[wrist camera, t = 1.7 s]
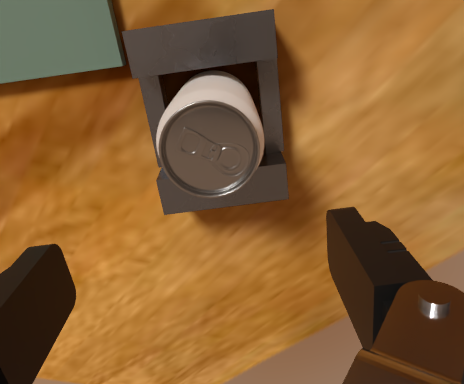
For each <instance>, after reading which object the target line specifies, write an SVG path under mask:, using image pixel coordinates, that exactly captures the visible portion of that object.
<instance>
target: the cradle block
mask: <svg viewBox="0 0 464 384" xmlns="http://www.w3.org/2000/svg"><path fill="white" fill-rule="evenodd" d="M122 35H123V39H124V43H125V48H126V52H127V56H128V61H129V65H130V69H131V73H132V78H133V79H134V78H139V82H140V86H141V91H142V95H143V100H144V104H145V109H146V113H147V117H148V122H149V126H150V131H151V135H152V140H153V144H154V149H155V153H156V157H157V162H158V166H159V167H162V165H161V162H160V158H159V155H158V152H157V145H156V135H157V129H158V125H159V122H160V119H161V117H162V115H163V113H164V112H165V110H166V108H167V107H168V106H169V105H168V100H167V95H166V90H165V85H164V80H163V75H162V74H169V73H176V72H183V71H190V70H197V69H204V68H211V67H218V66H225V65H232V64H239V63H246V62H253V61H255V64H256V74H257V84H258V93H259V103H260V113H261V123H262V127H263V132H264V151H263V156H262V159H261V161H260V164H259V166H258V168H257V169H256V171H255V172H254V174H253V176H252V177H251V179H250V180H249V181H248V182H247V183H246V184H245V185H244V186H243V187H242V188H240V189H239V190H237V191H236V192H234V193H232V194H229V195H226V196H223V197H218V198H203V197H198V196H194V195H191V194H189V193H187V192H185V191H183V190H181V189H180V188H179V187H177V186H176V185H175V184H174V183H173V182H172V181H171V180H170V179H169V177H168V176H167V175H166V173H165V171H164V169H163V167H162V169H161V171H160V173H159V175H158V178H157V180H156V181H157V186H158V190H159V194H160V199H161V203H162V207H163V212H164V215H167V214H175V213H183V212H190V211H198V210H206V209H214V208H222V207H230V206H238V205H245V204H253V203H261V202H269V201H277V200H285V199H289V195H288V183H287V170H286V162H285V160H284V158H283V156H282V154H281V151H284V143H283V130H282V118H281V105H280V93H279V80H278V68H277V58H278V57H277V44H276V31H275V19H274V9H272V10H265V11H258V12H251V13H244V14H238V15H231V16H224V17H217V18H210V19H204V20H197V21H190V22H183V23H176V24H169V25H163V26H156V27H149V28H142V29H135V30H129V31H122Z"/></svg>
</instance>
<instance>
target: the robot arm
mask: <svg viewBox="0 0 464 384" xmlns="http://www.w3.org/2000/svg"><path fill="white" fill-rule="evenodd" d="M326 221H327V251H328V263H329V268H330V272H331V276H332V278H333V280H334V283H335V285H336V287H337V290H338V292H339V294H340V296H341V299H342V301H343V303H344V306H345V308H346V310H347V312H348V315H349V317H350V319H351V321H352V324H353V326H354V328H355V331H356V333H357V335H358V338H359V340H360V342H361V344H362V347H363V348H362V349H361V350H360V351H359V352H358V354H357V355H356V357H355V359H354V362H353V363H352V365H351V367H350V369H349V371H348V374H347V375H346V377H345V379H344V382H343V384H464V293H463V292H462V291H460V290H459V289H457V288H455V287H453V286H451V285H448V284H445V283H442V282H437V281H433V280H432V279H431V278H430V277H429V276H428V274H427V273H426V272H425V270H424V269H423V268H422V267H421V266H420V264H419V263H418V262H417V261H416V260H415V258H414V257H413V256H412V255H411V254H410V252H409V251H407V250H406V248H405V246H404V245H403V244H402V243H401V242H399V239H398V238H397V237H396V236H395V234H394V233H393V232H392V231H391V230H390V229H389V228H387V227H385V226H383V225H381V224H380V223H378V222H376V221H372V222H365V221H364V219H363V218H362V217H361V215H360V214H359V213H358V211H357V210H356V209H355V207H348V208H340V209H332V210H328V211H327V216H326ZM75 301H76V289H75V285H74V283H73V280H72V277H71V274H70V272H69V269H68V266H67V264H66V261H65V258H64V255H63V253H62V250H61V248H60V247H59V246H58V245H56V244H49V245H42V246H34V247H29V248H27V249H26V250H25V251H24V252H23V253H22V254H21V256H20V257H19V258H18V259H17V260H16V261H15V262H14V263H13V264H12V266H11V267H9V268H8V269H6V270H5V271H3V272H2V273H1V274H0V384H32V383H33V382H34V380H35V378H36V376H37V374H38V372H39V371H40V369H41V367H42V365H43V363H44V361H45V359H46V358H47V356H48V354H49V352H50V350H51V348H52V346H53V345H54V343H55V341H56V339H57V337H58V335H59V333H60V332H61V330H62V328H63V326H64V324H65V322H66V321H67V319H68V317H69V315H70V313H71V311H72V309H73V307H74V305H75Z"/></svg>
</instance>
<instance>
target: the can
mask: <svg viewBox="0 0 464 384" xmlns="http://www.w3.org/2000/svg"><path fill="white" fill-rule="evenodd" d="M156 145H157V152H158V155H159V158H160V162H161V165H162V167H163V169H164V171H165V173H166V175H167V176H168V177H169V179H170V180H171V181H172V182H173V183H174V184H175V185H176V186H177V187H179V188H180V189H181V190H183V191H185V192H187V193H189V194H191V195H194V196H198V197H203V198H218V197H223V196H226V195H229V194H232V193H234V192H236V191H237V190H239V189H240V188H242V187H243V186H244V185H245V184H246V183H247V182H248V181H249V180H250V179H251V177H252V176H253V174H254V172H255V171H256V169H257V168H258V166H259V164H260V161H261V159H262V156H263V151H264V132H263V127H262V124H261V121H260V118H259V115H258V112H257V110H256V107H255V105H254V102H253V100H252V97H251V95H250V93H249V91H248V89H247V88H246V86H245V85H244V84H243V83H242V82H241V81H240V80H239V79H238V78H236V77H235V76H233V75H231V74H229V73H227V72H223V71H218V70H210V71H205V72H201V73H199V74H197V75H195V76H193V77H192V78H190V79H189V80H188V81H187V82H186V83H185V84H184V85H183V87H182V88H181V89H180V90H179V92H178V93H177V95H176V96H175V97H174V99H173V100H172V101H171V103H170V104H169V106H168V107H167V108H166V110H165V112H164V113H163V115H162V117H161V119H160V122H159V125H158V129H157V135H156Z"/></svg>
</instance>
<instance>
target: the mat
mask: <svg viewBox="0 0 464 384" xmlns="http://www.w3.org/2000/svg"><path fill="white" fill-rule="evenodd" d="M124 65H126V61H125V56H124V52H123V48H122V44H121V39H120V35H119V31H118V27H117V22H116V18H115V14H114V10H113V5H112V1H111V0H0V84H1V83H8V82H15V81H22V80H29V79H36V78H43V77H50V76H57V75H64V74H71V73H78V72H85V71H92V70H99V69H105V68H112V67H119V66H124Z"/></svg>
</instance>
